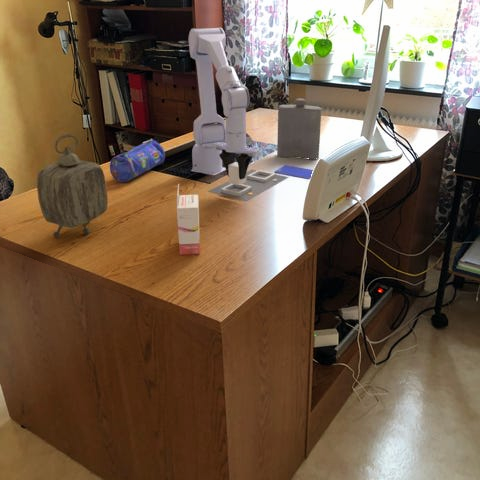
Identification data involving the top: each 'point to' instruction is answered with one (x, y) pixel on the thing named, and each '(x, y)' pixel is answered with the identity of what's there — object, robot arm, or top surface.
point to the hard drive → (295, 171)
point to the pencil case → (137, 161)
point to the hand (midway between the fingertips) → (236, 177)
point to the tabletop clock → (71, 190)
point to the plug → (235, 174)
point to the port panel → (249, 185)
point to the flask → (299, 130)
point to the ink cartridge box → (188, 223)
